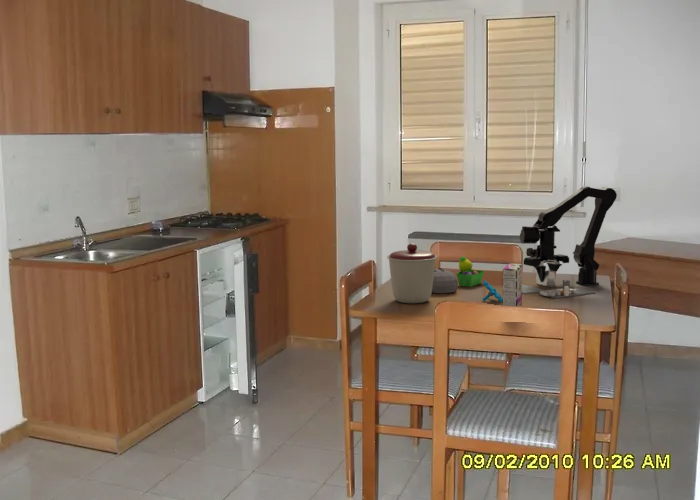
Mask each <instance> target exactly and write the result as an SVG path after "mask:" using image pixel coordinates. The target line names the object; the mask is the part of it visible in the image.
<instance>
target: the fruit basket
mask: <svg viewBox="0 0 700 500" xmlns="http://www.w3.org/2000/svg"><path fill="white" fill-rule="evenodd" d="M458 269H459V271H458V272H456V273H455V276H456V278H457V282H458V285H459V286H461V287H470V288H471V287H474V286H476V285H480V284H482V282H483V281H482V280H483V276H484V274H485V270H480V269H479V270H478V269H474V268H473V263H472V261H470V260H469V259H468V258H467V257H465V256H460V257H459V259H458Z"/></svg>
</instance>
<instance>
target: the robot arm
mask: <svg viewBox="0 0 700 500" xmlns="http://www.w3.org/2000/svg"><path fill="white" fill-rule="evenodd" d="M617 196H618V194H617V191H616V190H615V189H613V188H612V187H611V188H610V187H604V186H603V187H600V188H594V187H590V186H586V185H585V186H584V185H583V186H582V187H580V188H579V189H578V190H576V191H575V192H574V193H572V194H571V195H570V196H568V197H566V198H565V199H564V200H562V201H561V202H559V203H558V204H557V205H555V206H553V207H549V208H547V209H544V210H543V211H541V212H540V213H539V214H538V218H537V220H536V221H535V223H534V224H533V225H532V226H525V225H523V226H522V227H521V230H520V233H519V240H520V243H521V244H537V245H536V248H533V247H527V248H526V251H525V253H526V256H527V257H525V258H524V259H523V265H525V266H529V267H533V268H534V269H535V271H536V274H537V273H538V276H539V279H540V282H543V280H544V275H545V269H547V266H548V269H550V270H554V271H556V273H557V272H558V270H559V269H560V267H562V266H563V264H569V263H570V257H569V256H568V255H566V254H559V253H558V254H555V250H556V249H557V245H555V239H556V237H555V235H556V234H555V233H556V232H561V229H560V228H558V226H556V224H558V222H559V221H560V220H561V219H562V217H563V216H564V215H565V214H566V213H567V212H569V211H570V210H572V209H573V208H575V207H576V206H577V205H579V204H580V203H581V202H583V201H584V200H586V199H587V198H588V197H589V198H595V199H594V211H593V213H592V215H591V218H590V221H589V224H588V227H587V229H586V232H585V235H584V237H583V241H582V242H581V243H580V244H578V243H577V244H575V246H574V247H575V248H574V250H573V253H572V255H573V260H574V262H575V263H577V267H578V268H579V270H578V277H577V278H578V279H577V280H578V281H576V282H575V283H577V284H579V285H580V284H581V285H585V286H592V285H599V284H600V282H597V273H598V272H597V271H598V269H599V267H600V264H599V263H598V262H597V261H596V260H595V254H596V249H595V245H596V241H597V239H598V236H599V234H600V232H601V228H602V226H603V223H604V220H605V217H606V215H607V212H608V211H609V210H610V209H611V207H612V206H613V205H614V203H615V202H616V199H617ZM538 242H539V244H538ZM560 262H562V263H560ZM544 264H547V266H546V265H544Z"/></svg>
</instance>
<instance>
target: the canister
mask: <svg viewBox="0 0 700 500" xmlns="http://www.w3.org/2000/svg"><path fill="white" fill-rule="evenodd" d="M406 248H407V249H406V250H405V249H404V250H403V249H402V250H398V251H392V252H391V253H390V254H389V255H387V256H386V258H387V260H388V262H389V271H390V272H389V273H390V281H391V282H390V283H391V289H392V294H393V297H394V300H395V301H397V302H399V303H402V304H422V303H423V304H424V303H426V302H428V301H429V300H430V299H431V296H432V286H433V278H434V269H436V268H435V267H436V260H437V259H438V255H436V254H435V253H433V252H432V251H427V250H419V249H418V245H417V244H416V243H409V244H408V245H407V247H406Z"/></svg>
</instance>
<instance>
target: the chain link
mask: <svg viewBox="0 0 700 500" xmlns="http://www.w3.org/2000/svg"><path fill="white" fill-rule="evenodd" d="M535 274H536V277H535V278H536V280H535V281H536V282H535V283H536V285H538V286H539V285H540V286H543V287H548V288H555V287H556V286H557V272H556V271H554V270H550V269H549V268H546V269H545V275H544V280H543V282H540V279H539V276H538V273H537V272H536V273H535Z"/></svg>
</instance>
